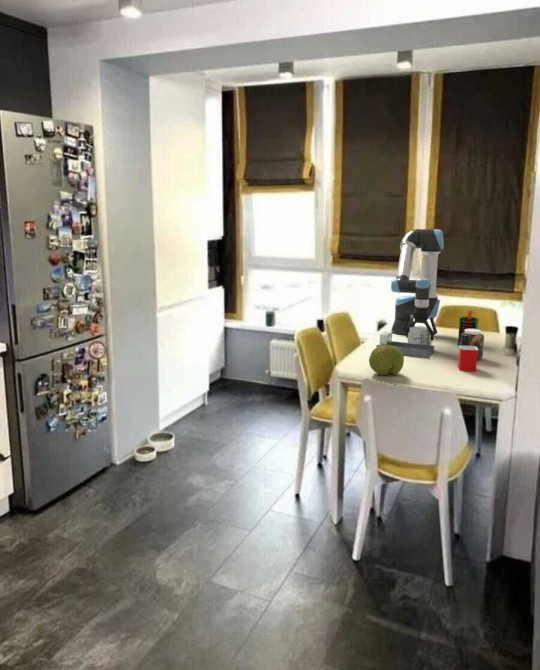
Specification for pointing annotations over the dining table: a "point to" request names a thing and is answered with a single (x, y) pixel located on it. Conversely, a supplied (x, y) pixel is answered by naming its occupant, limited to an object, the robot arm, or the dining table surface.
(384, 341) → the rail cradle
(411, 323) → the robot arm
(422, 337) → the ink box
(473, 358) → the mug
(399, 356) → the fruit
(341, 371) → the dining table surface
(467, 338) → the jar
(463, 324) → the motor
